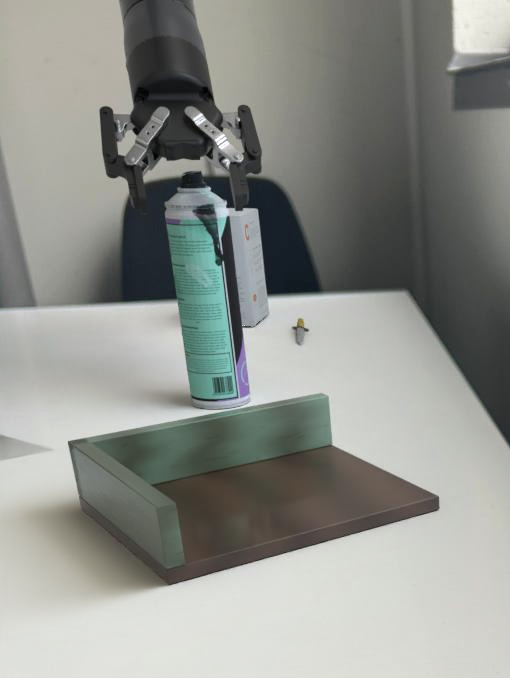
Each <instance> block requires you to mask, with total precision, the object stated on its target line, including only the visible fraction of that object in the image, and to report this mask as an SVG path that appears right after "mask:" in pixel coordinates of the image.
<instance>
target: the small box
mask: <svg viewBox="0 0 510 678" xmlns="http://www.w3.org/2000/svg"><path fill="white" fill-rule="evenodd" d="M226 208H227V209H228V210H229V216H230V224H231V233H232V242H233V250H234V259H235V267H236V276H237V285H238V293H239V302H240V311H241V319H242V325H243V326H244V325H245V326H254V327H256V326H257V325H258V324H259V323H260V322H261V321H262V320H263V318H264V317H265V316H266V315H267V314H268V313H269V314H270V309H269V300H268V289H267V284H266V283H267V282H266V273H265V264H264V263H265V262H264V254H263V252H264V251H263V245H262V244H263V243H262V235H261V225H260V216H259V209H258V208H253V207H243V211H235V207H226ZM269 314H268V315H269ZM268 315H267V316H268ZM267 316H266V317H267ZM266 317H265V318H266ZM265 318H264V319H265ZM259 321H260V322H259ZM258 322H259V323H258ZM257 323H258V324H257ZM256 324H257V325H256Z"/></svg>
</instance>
